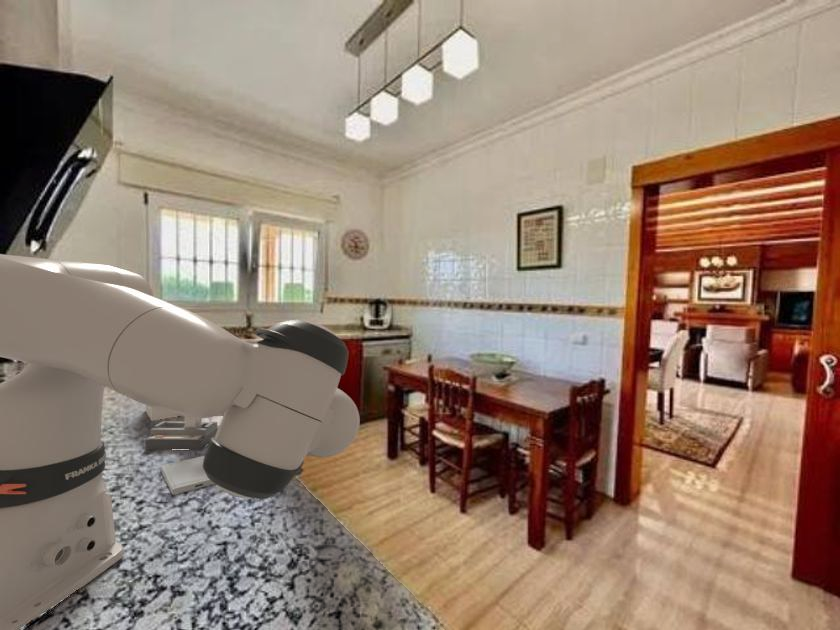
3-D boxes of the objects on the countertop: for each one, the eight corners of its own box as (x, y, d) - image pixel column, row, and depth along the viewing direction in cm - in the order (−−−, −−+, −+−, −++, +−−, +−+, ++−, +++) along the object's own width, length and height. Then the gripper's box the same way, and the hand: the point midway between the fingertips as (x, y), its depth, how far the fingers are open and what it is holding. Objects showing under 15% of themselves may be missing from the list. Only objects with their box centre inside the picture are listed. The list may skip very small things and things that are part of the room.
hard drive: (160, 465, 76) (172, 488, 67) (206, 455, 82) (223, 475, 73) (160, 473, 76) (172, 497, 67) (206, 462, 82) (223, 484, 73)
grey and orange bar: (196, 433, 90) (198, 348, 89) (181, 433, 89) (183, 348, 89) (203, 429, 93) (205, 347, 92) (189, 428, 93) (190, 346, 92)
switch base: (200, 450, 87) (201, 431, 87) (145, 450, 86) (145, 430, 86) (220, 435, 97) (220, 417, 96) (170, 434, 96) (170, 417, 96)
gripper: (242, 424, 82) (175, 423, 81) (272, 399, 103) (218, 399, 102) (243, 395, 82) (175, 394, 81) (272, 376, 102) (218, 375, 101)
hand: (199, 396), depth 91 cm, fingers closed, pressing on grey and orange bar
